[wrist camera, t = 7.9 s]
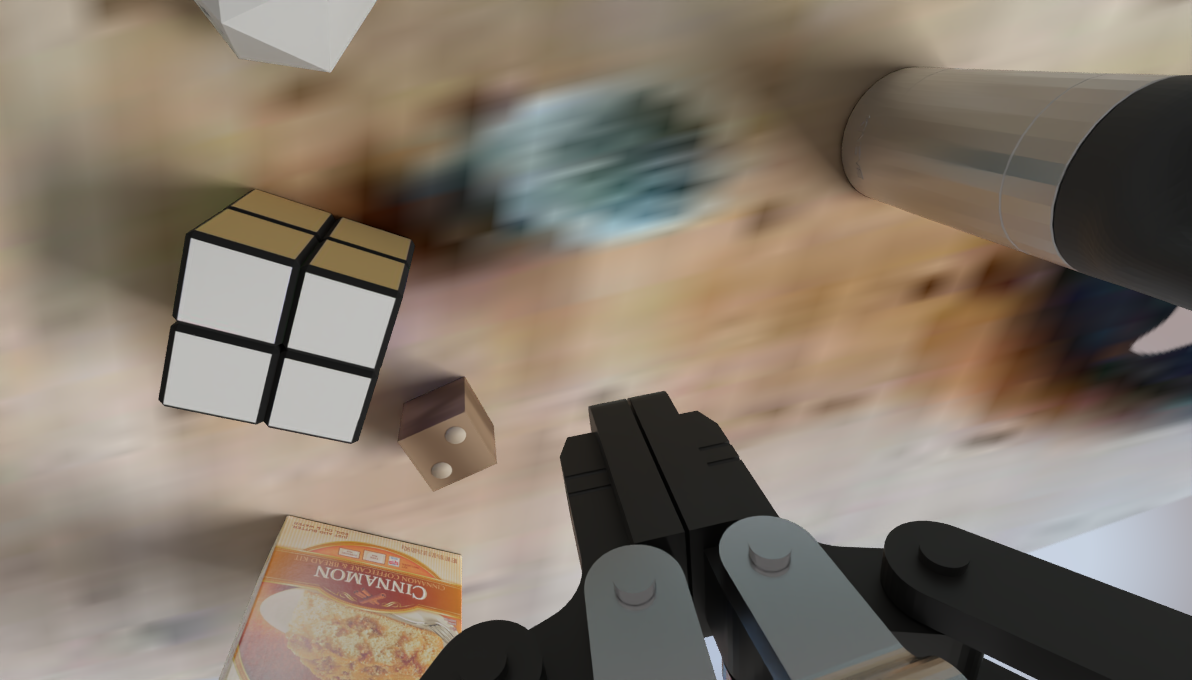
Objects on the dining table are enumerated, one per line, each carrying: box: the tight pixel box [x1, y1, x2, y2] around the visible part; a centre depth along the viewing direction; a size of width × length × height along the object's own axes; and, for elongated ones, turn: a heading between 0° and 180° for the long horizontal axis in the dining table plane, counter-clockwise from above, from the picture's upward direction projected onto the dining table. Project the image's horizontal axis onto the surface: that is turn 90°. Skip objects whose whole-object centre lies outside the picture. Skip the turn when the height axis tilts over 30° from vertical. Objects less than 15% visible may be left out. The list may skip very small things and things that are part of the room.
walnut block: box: [398, 377, 497, 492], centre depth 43 cm, size 5×5×5 cm
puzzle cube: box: [158, 189, 415, 444], centre depth 34 cm, size 10×10×10 cm
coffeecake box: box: [219, 515, 462, 680], centre depth 41 cm, size 15×7×20 cm, turn 61°
